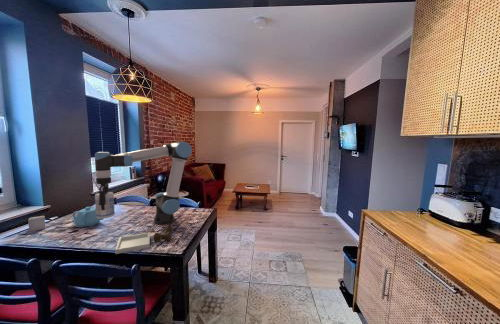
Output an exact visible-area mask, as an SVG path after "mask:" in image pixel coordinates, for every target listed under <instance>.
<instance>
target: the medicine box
mask: <svg viewBox="0 0 500 324" xmlns="http://www.w3.org/2000/svg"><path fill="white" fill-rule="evenodd" d="M27 225H28V232H34V231H35V232H36V231H40V230H45V229H46V218H45V215H40V216H33V217H29V218H28V224H27Z"/></svg>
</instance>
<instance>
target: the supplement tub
mask: <svg viewBox="0 0 500 324" xmlns="http://www.w3.org/2000/svg"><path fill="white" fill-rule="evenodd" d="M105 198H106V202H105V203H106V215H101V210H100V205H98V204H99V192H98V193H95V194H94V203H95V204H94V205H95V207H94V208H96V217H97V218H98V219H103V220H104V219H108V218H112V217H113V216H115V195H114V192H112V191H109V192H107V194H106V195H105Z"/></svg>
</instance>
